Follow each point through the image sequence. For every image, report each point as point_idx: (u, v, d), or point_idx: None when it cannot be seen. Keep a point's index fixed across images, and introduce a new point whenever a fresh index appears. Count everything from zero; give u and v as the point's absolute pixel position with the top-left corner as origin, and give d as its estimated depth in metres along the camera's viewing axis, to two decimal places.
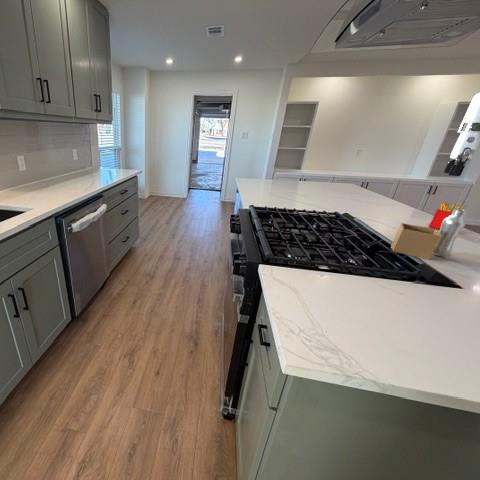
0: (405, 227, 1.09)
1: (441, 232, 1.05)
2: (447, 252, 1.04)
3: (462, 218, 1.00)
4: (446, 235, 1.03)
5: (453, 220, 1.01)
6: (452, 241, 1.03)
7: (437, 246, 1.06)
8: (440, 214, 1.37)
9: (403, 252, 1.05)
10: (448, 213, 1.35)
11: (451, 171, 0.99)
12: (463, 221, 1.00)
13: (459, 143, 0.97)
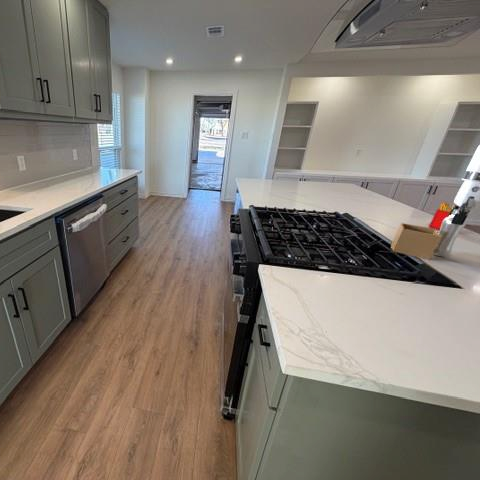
0: (405, 227, 1.09)
1: (441, 232, 1.05)
2: (447, 252, 1.04)
3: None
4: (446, 236, 1.03)
5: None
6: (452, 241, 1.03)
7: (437, 246, 1.06)
8: (440, 214, 1.37)
9: (403, 252, 1.05)
10: (448, 213, 1.35)
11: (453, 219, 1.00)
12: None
13: (463, 191, 0.97)
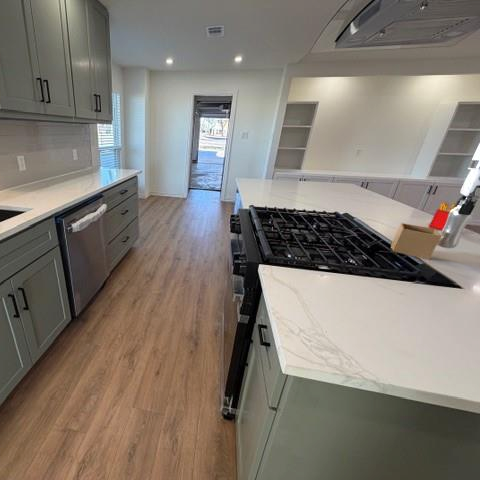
0: (405, 227, 1.09)
1: (448, 224, 1.03)
2: (454, 244, 1.03)
3: None
4: (453, 227, 1.01)
5: None
6: (459, 233, 1.01)
7: (444, 238, 1.04)
8: (440, 214, 1.37)
9: (403, 252, 1.05)
10: (448, 213, 1.35)
11: (461, 210, 0.98)
12: None
13: (470, 180, 0.95)
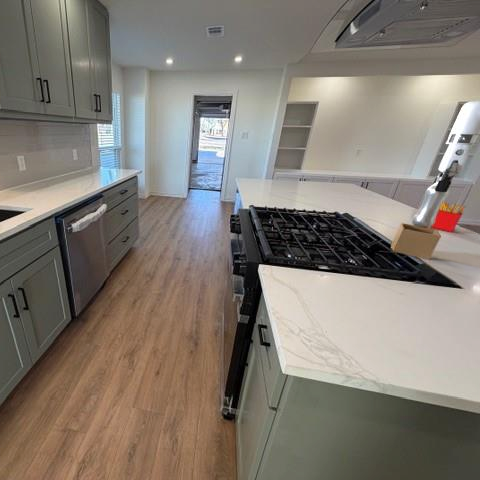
0: (405, 227, 1.09)
1: (424, 202, 0.99)
2: (430, 223, 1.00)
3: None
4: (429, 205, 0.98)
5: None
6: (436, 211, 0.98)
7: (420, 217, 1.01)
8: (440, 214, 1.37)
9: (403, 252, 1.05)
10: (448, 213, 1.35)
11: (437, 187, 0.95)
12: None
13: (447, 155, 0.91)
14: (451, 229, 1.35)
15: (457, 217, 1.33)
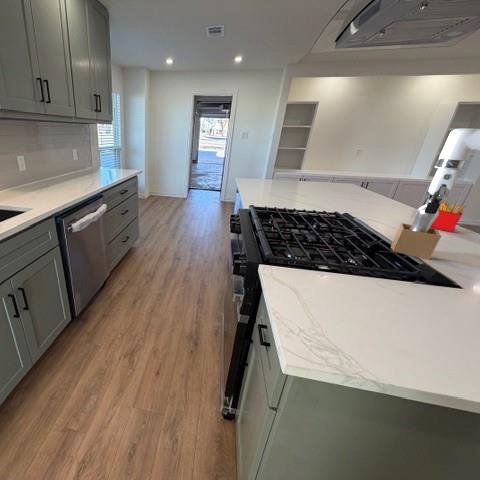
0: (405, 227, 1.09)
1: (415, 222, 1.03)
2: None
3: None
4: (419, 226, 1.02)
5: None
6: (425, 231, 1.01)
7: None
8: (440, 214, 1.37)
9: (403, 252, 1.05)
10: (448, 213, 1.35)
11: (427, 208, 0.98)
12: None
13: (436, 179, 0.95)
14: (451, 229, 1.35)
15: (457, 217, 1.33)
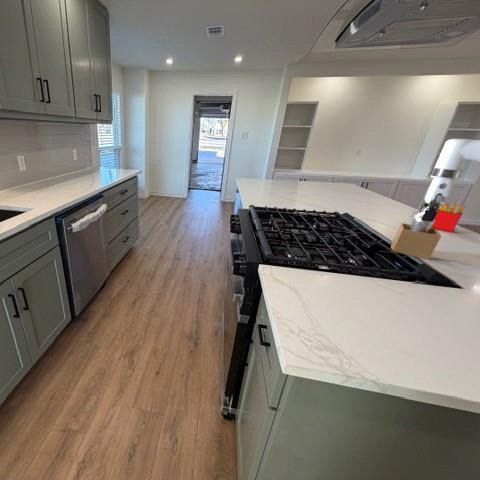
0: (405, 227, 1.09)
1: None
2: None
3: None
4: None
5: None
6: None
7: None
8: (440, 214, 1.37)
9: (403, 252, 1.05)
10: (448, 213, 1.35)
11: (424, 216, 0.98)
12: None
13: (432, 188, 0.96)
14: (451, 229, 1.35)
15: (457, 217, 1.33)
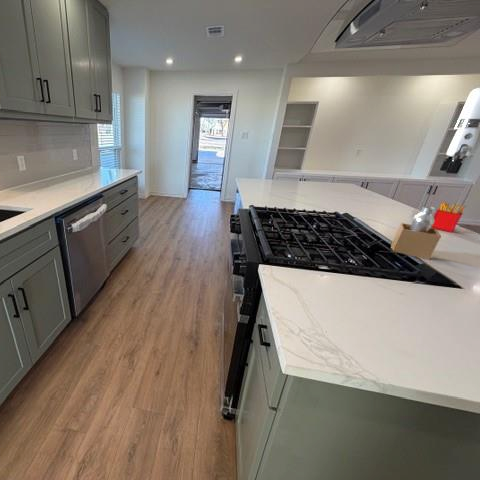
0: (405, 227, 1.09)
1: None
2: None
3: (431, 216, 1.00)
4: None
5: (422, 217, 1.01)
6: None
7: None
8: (440, 214, 1.37)
9: (403, 252, 1.05)
10: (448, 213, 1.35)
11: (448, 168, 0.97)
12: (432, 219, 1.00)
13: (456, 140, 0.95)
14: (451, 229, 1.35)
15: (457, 217, 1.33)
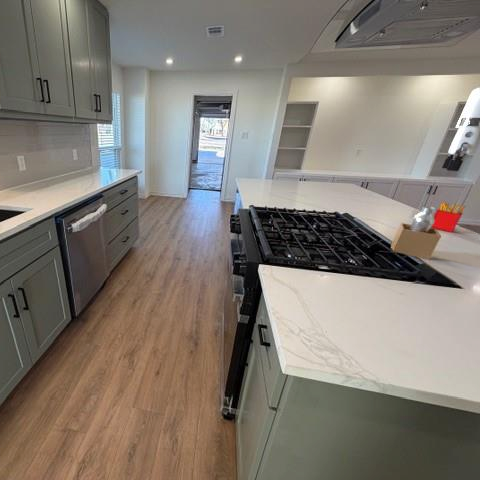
0: (405, 227, 1.09)
1: None
2: None
3: (431, 216, 1.00)
4: None
5: (422, 217, 1.01)
6: None
7: None
8: (440, 214, 1.37)
9: (403, 252, 1.05)
10: (448, 213, 1.35)
11: (449, 166, 1.00)
12: (432, 219, 1.00)
13: (457, 138, 0.98)
14: (451, 229, 1.35)
15: (457, 217, 1.33)
